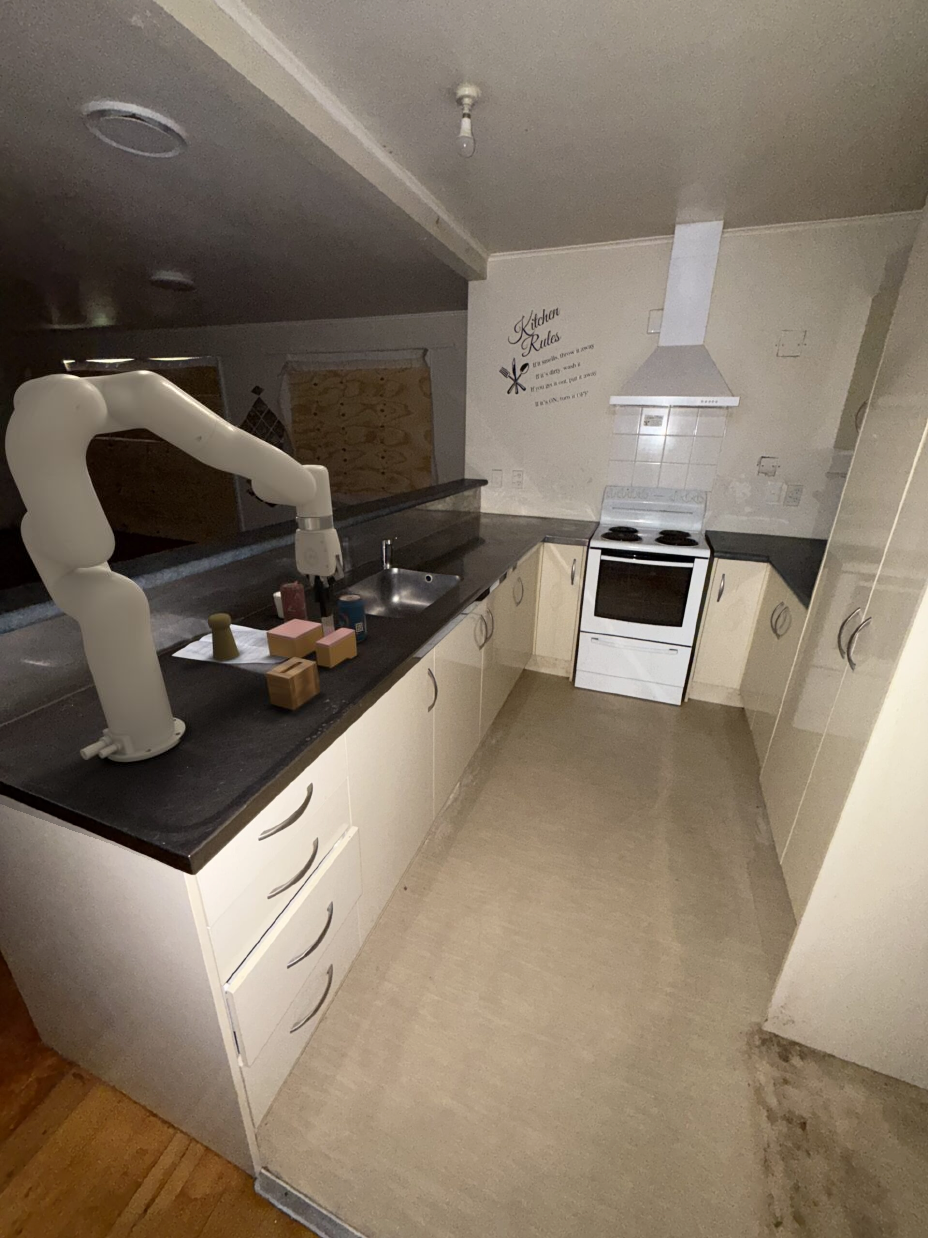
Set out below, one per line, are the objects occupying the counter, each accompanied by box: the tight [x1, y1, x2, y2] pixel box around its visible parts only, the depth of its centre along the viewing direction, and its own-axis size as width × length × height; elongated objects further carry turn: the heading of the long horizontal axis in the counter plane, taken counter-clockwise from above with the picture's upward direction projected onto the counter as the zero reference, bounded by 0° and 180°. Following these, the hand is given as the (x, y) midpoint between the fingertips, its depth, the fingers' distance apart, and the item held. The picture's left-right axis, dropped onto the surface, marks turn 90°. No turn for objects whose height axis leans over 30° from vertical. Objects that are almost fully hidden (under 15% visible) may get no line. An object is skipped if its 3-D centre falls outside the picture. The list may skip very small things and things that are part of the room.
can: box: [279, 580, 309, 624], centre depth 134 cm, size 6×6×14 cm
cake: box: [265, 619, 323, 659], centre depth 122 cm, size 10×9×7 cm
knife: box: [317, 577, 336, 638], centre depth 116 cm, size 4×2×20 cm, turn 156°
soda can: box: [337, 593, 368, 644], centre depth 129 cm, size 7×7×12 cm
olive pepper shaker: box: [207, 612, 240, 662], centre depth 120 cm, size 6×6×11 cm
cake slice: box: [315, 627, 358, 669], centre depth 117 cm, size 10×4×7 cm, turn 155°
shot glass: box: [272, 591, 284, 619], centre depth 148 cm, size 7×7×7 cm
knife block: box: [265, 657, 321, 711], centre depth 100 cm, size 8×6×8 cm
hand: (324, 601), depth 114 cm, fingers closed on knife, 1 cm apart
